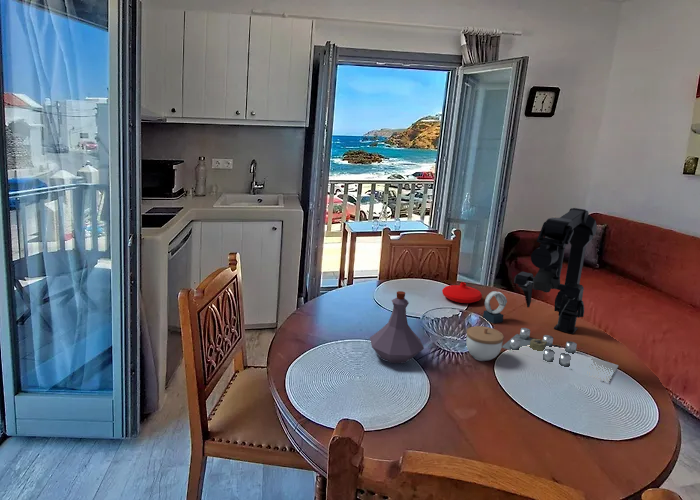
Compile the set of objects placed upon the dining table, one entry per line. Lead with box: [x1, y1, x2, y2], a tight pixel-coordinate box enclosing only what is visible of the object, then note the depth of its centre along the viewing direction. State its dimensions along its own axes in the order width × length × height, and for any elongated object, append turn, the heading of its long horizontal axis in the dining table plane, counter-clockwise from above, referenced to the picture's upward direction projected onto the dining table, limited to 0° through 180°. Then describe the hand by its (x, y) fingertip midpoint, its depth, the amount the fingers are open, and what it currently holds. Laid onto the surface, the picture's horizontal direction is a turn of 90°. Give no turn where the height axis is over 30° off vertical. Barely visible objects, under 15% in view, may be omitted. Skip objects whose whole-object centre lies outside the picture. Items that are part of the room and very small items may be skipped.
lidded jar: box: [465, 325, 505, 362], centre depth 146 cm, size 11×11×9 cm
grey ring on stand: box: [482, 290, 508, 324], centre depth 174 cm, size 6×8×11 cm
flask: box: [369, 290, 425, 364], centre depth 142 cm, size 16×16×20 cm
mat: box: [501, 333, 619, 383], centre depth 150 cm, size 14×31×1 cm, turn 52°
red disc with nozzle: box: [441, 281, 483, 304], centre depth 195 cm, size 16×16×7 cm
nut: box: [529, 338, 546, 351], centre depth 154 cm, size 5×4×3 cm
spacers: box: [509, 327, 578, 367], centre depth 152 cm, size 14×18×3 cm
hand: (543, 311), depth 148 cm, fingers open, 9 cm apart
